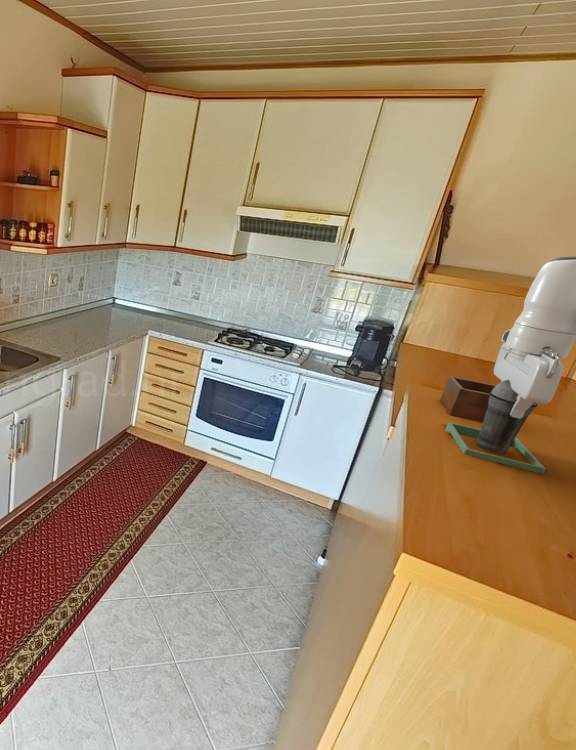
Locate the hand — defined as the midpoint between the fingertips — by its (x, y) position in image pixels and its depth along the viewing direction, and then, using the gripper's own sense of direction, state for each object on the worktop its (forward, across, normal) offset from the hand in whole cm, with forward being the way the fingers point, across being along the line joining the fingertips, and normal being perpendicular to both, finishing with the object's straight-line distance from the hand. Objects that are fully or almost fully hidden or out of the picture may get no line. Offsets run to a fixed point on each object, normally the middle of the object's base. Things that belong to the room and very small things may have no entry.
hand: (507, 410), depth 97 cm
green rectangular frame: (+10, 0, 0) cm, 10 cm away
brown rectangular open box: (+10, +30, -4) cm, 32 cm away
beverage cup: (+9, 0, 0) cm, 9 cm away
